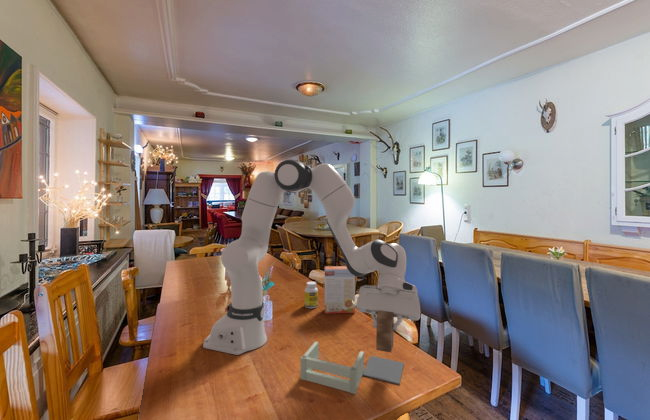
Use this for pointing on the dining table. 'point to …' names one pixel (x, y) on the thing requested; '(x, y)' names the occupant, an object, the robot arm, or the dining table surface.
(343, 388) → the crate
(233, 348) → the robot arm
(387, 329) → the walnut block
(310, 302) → the pill bottle
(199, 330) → the dining table surface
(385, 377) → the mat
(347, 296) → the cracker box
